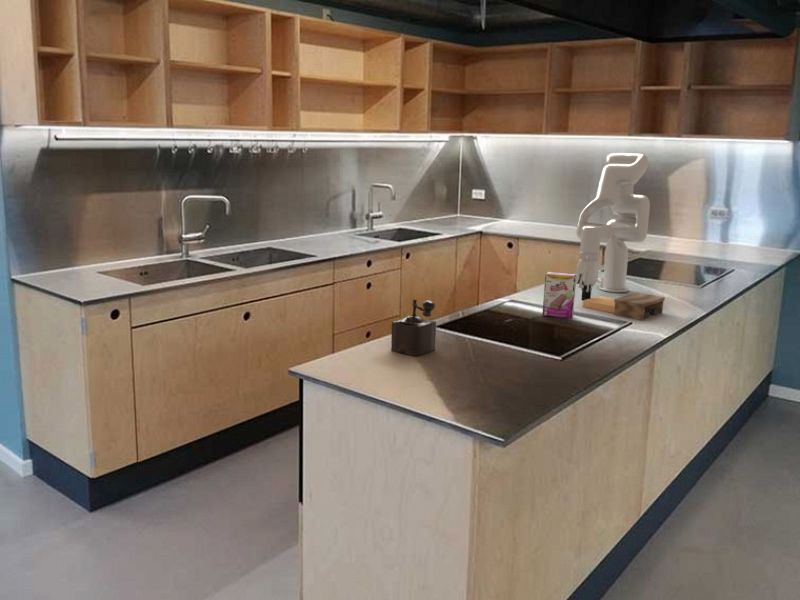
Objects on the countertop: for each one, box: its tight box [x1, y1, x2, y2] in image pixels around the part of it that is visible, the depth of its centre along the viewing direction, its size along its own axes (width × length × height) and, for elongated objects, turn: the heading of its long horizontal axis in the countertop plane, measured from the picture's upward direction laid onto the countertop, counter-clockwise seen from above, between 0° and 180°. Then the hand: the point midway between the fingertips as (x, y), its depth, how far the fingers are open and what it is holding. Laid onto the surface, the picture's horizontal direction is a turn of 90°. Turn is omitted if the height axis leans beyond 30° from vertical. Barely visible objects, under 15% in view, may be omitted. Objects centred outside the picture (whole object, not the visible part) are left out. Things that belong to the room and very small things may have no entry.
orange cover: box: [582, 295, 615, 314], centre depth 287 cm, size 14×12×3 cm
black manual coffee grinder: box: [390, 298, 437, 357], centre depth 224 cm, size 16×11×18 cm
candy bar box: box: [542, 271, 577, 320], centre depth 271 cm, size 11×5×16 cm, turn 71°
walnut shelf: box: [613, 292, 666, 321], centre depth 277 cm, size 12×18×6 cm, turn 135°
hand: (585, 300), depth 294 cm, fingers closed
